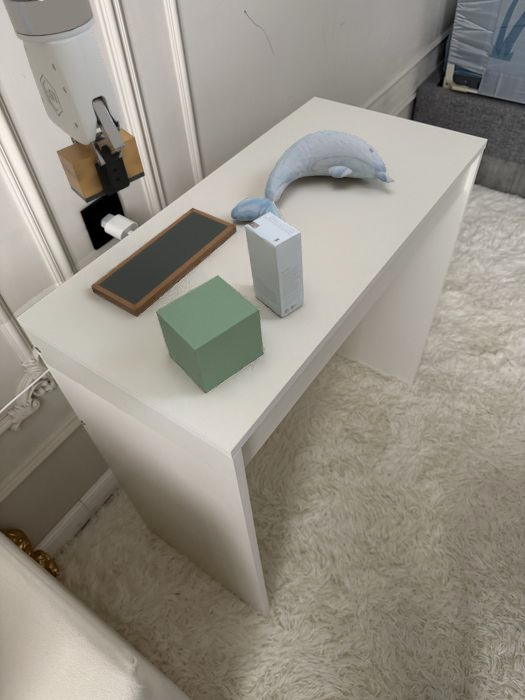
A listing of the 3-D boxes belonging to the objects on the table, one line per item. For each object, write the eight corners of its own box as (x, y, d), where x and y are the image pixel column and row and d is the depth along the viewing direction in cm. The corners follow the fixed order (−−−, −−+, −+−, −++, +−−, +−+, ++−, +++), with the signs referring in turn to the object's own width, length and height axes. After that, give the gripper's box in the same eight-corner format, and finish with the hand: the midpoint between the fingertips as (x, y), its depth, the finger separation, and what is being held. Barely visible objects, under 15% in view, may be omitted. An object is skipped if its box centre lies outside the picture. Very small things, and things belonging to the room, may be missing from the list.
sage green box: (205, 393, 62) (194, 350, 56) (169, 355, 66) (155, 311, 60) (263, 353, 66) (259, 309, 60) (225, 319, 70) (217, 274, 64)
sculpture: (315, 281, 80) (402, 185, 89) (317, 248, 73) (411, 148, 82) (227, 229, 86) (316, 144, 95) (221, 194, 79) (318, 107, 88)
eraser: (86, 203, 61) (71, 164, 57) (71, 189, 63) (56, 151, 59) (145, 175, 64) (134, 136, 60) (129, 163, 66) (117, 125, 62)
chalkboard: (137, 316, 71) (134, 310, 70) (93, 292, 75) (90, 286, 74) (236, 231, 82) (235, 225, 81) (193, 213, 86) (192, 207, 85)
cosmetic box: (305, 304, 71) (305, 230, 62) (280, 320, 69) (276, 247, 60) (276, 281, 74) (271, 208, 65) (251, 296, 72) (243, 224, 63)
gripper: (-20, 2, 52) (50, 168, 66) (51, 45, 43) (114, 226, 57) (49, -18, 55) (102, 145, 69) (129, 18, 46) (171, 197, 60)
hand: (107, 180), depth 63 cm, fingers closed on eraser, 4 cm apart
